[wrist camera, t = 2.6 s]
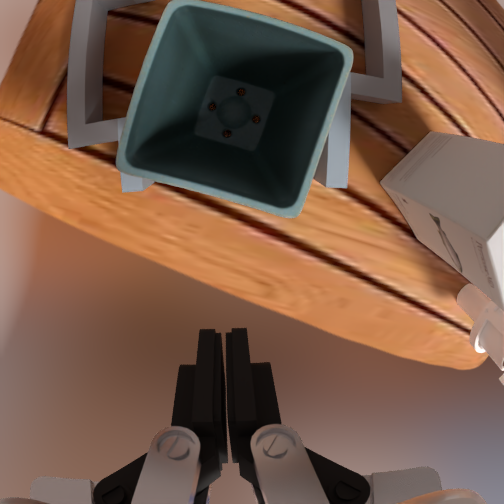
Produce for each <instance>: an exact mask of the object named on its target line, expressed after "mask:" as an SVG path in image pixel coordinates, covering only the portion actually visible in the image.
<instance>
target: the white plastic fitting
mask: <svg viewBox="0 0 504 504" xmlns="http://www.w3.org/2000/svg"><path fill="white" fill-rule="evenodd" d="M457 304H458V305H459V306H460V307H461V308H462V309H463V310H464V311H465V312H466V313H467V314H468V315H469V316H470V317H471V319H472V320H473V321H474V322H475V323H474V325H473V327H472V330H471V333H470V344H471V345H472V346H473V348H474V349H475V350H476V351H477V352H479V353H483V352H487V353H488V354H489V356H490V357H491V358H492V359H493V360H494V362H495V363H496V364H497V365H498V367H499V368H500V369H501V370H502V371H503V370H504V367H503V361H504V311H503V310H502V309H501V308H499V307H498V306H497V305H496V304H495V303H494V302H493V301H492V300H490V299H489V298H488V297H486V296H485V295H484V294H483V293H482V292H481V291H480V290H478V289H477V288H476V287H475V286H474V285H473V284H471V283H470V284H467V285H465V286H464V287H463V288H462V289H461V290H460V292H459V294H458V296H457ZM499 380H500V381H501V383H502V384H503V385H504V374H503V375H502V376H501V377H500V378H499Z"/></svg>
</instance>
